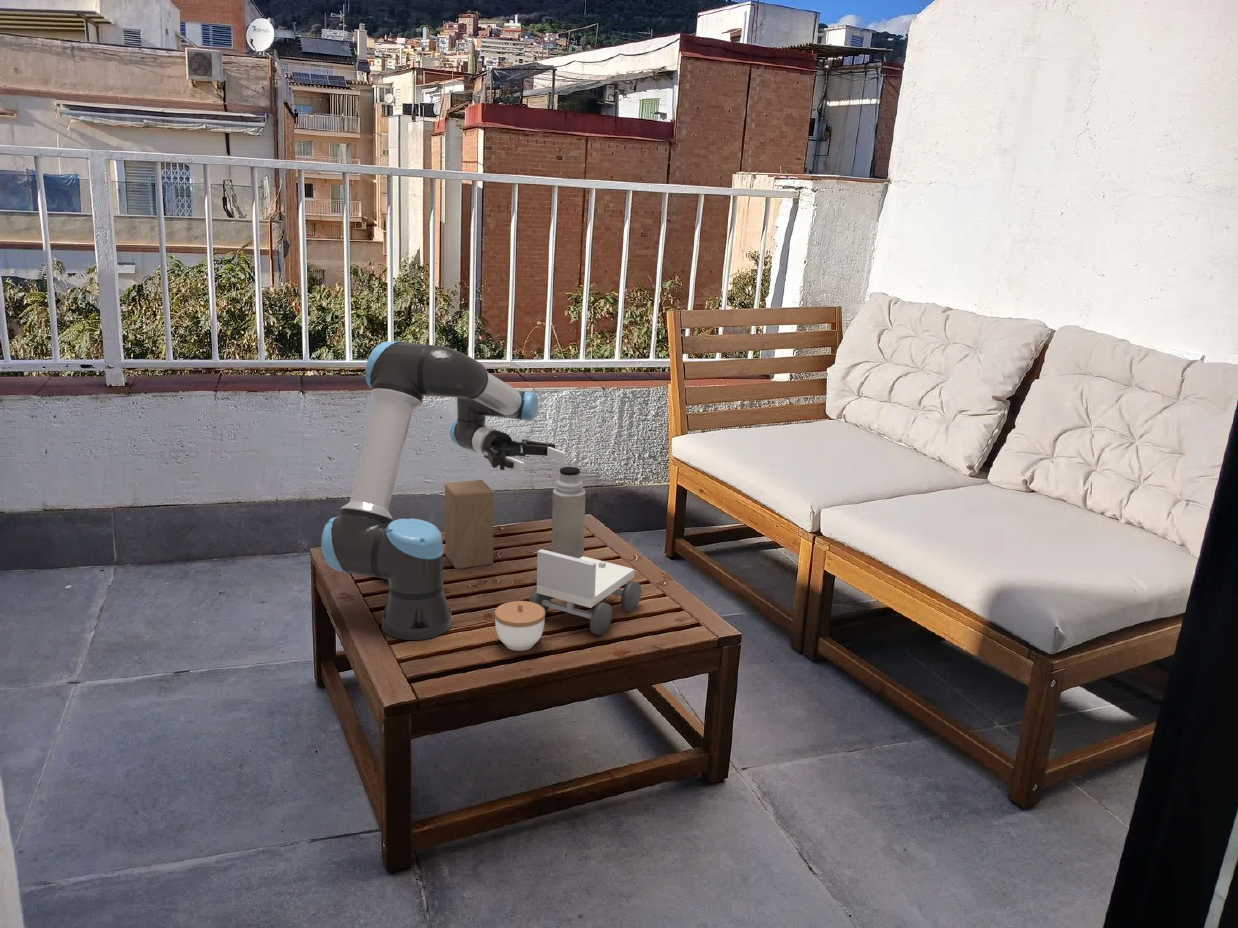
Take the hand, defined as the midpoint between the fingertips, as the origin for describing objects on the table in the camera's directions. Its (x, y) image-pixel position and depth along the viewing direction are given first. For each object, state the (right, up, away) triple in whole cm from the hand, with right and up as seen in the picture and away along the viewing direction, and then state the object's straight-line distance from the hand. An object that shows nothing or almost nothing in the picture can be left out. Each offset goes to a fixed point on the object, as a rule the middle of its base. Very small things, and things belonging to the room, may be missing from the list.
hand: (544, 463), depth 245 cm
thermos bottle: (+6, -28, +1) cm, 29 cm away
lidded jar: (-3, -39, -35) cm, 53 cm away
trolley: (+11, -35, -19) cm, 41 cm away
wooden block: (-20, -25, +8) cm, 33 cm away
